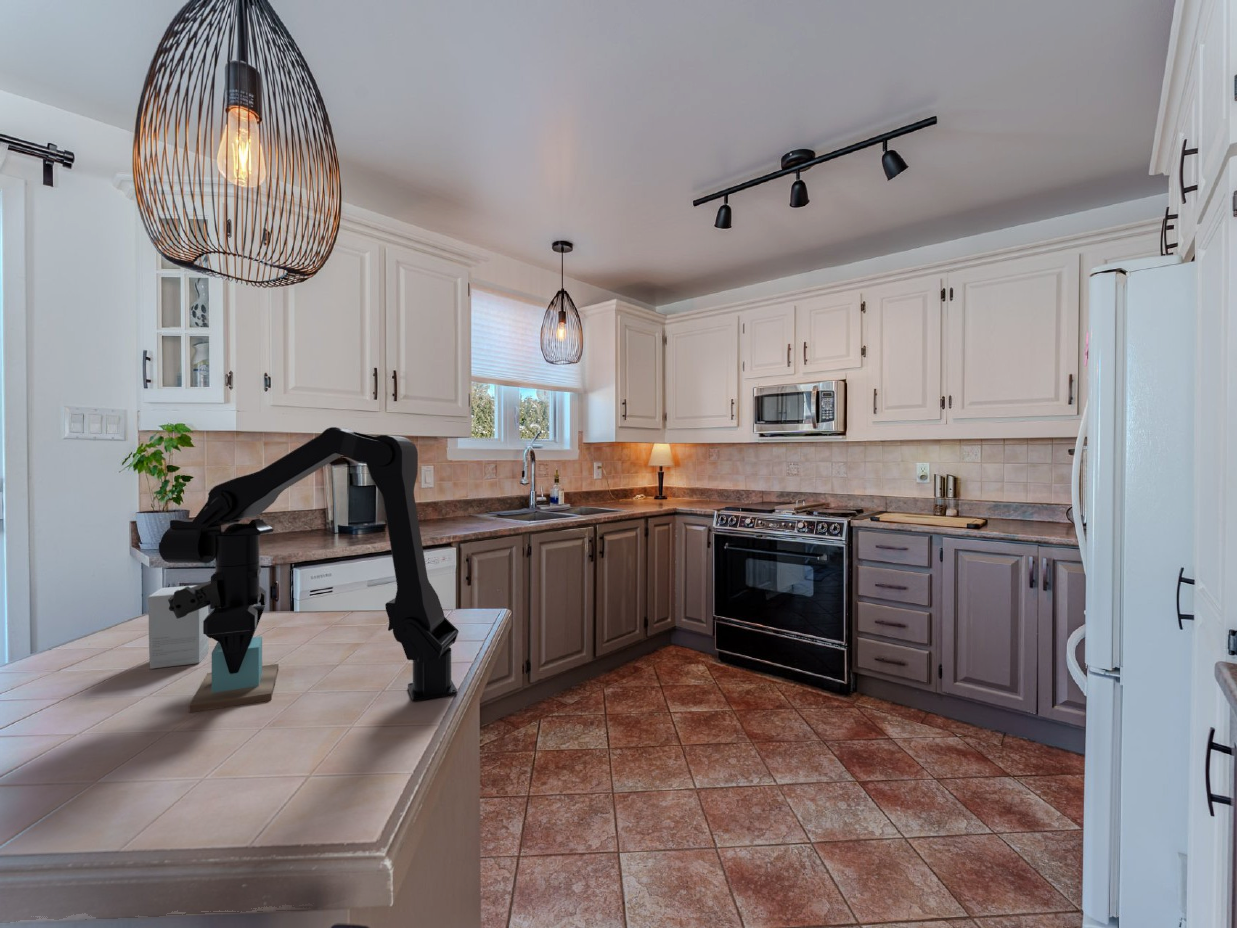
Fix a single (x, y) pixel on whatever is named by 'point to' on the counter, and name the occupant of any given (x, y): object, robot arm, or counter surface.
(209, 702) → the pin plate
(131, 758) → the counter surface
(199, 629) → the supplement box
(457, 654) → the counter surface
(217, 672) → the square socket block
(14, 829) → the counter surface
